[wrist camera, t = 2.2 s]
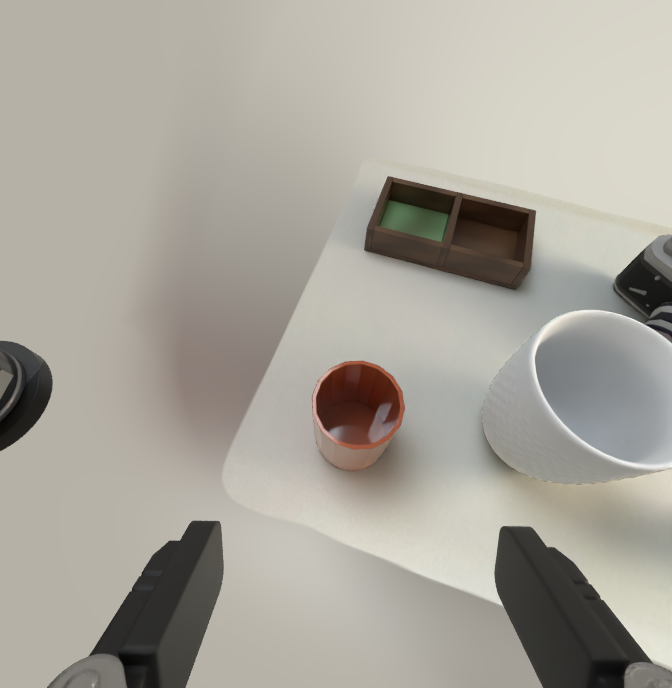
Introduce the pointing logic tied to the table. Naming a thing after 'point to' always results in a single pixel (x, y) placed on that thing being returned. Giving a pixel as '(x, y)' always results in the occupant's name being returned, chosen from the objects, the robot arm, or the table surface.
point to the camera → (651, 285)
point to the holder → (452, 232)
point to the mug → (584, 401)
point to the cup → (356, 413)
